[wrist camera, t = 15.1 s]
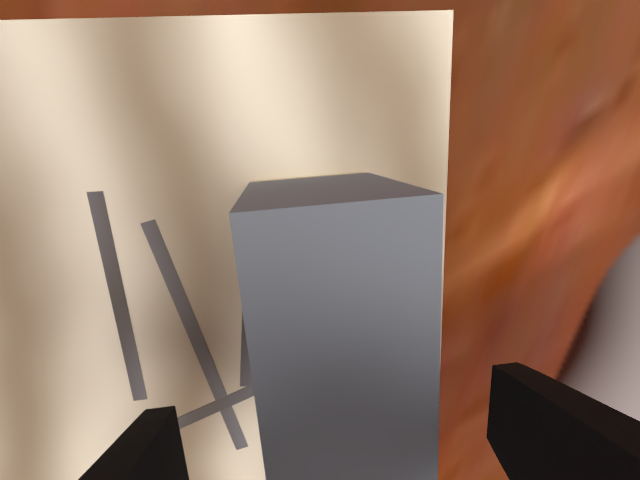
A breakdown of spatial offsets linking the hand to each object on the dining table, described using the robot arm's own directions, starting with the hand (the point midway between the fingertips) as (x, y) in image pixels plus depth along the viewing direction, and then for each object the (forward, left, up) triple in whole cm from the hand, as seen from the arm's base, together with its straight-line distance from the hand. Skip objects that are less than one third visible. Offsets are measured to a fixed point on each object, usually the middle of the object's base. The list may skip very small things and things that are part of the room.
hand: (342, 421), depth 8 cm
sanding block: (0, 0, -6) cm, 6 cm away
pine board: (-5, 0, -7) cm, 9 cm away
